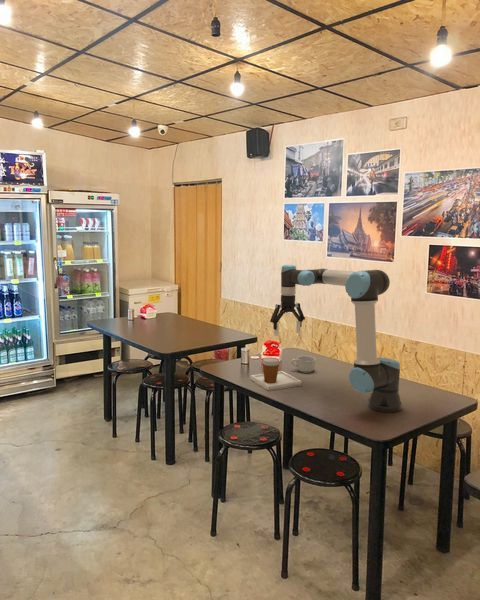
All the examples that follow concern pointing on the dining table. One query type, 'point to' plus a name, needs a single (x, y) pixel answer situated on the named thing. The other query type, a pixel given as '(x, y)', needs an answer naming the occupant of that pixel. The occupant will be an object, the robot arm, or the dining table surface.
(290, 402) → the dining table surface
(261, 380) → the tray
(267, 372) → the disposable coffee cup
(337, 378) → the dining table surface
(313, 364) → the teacup
